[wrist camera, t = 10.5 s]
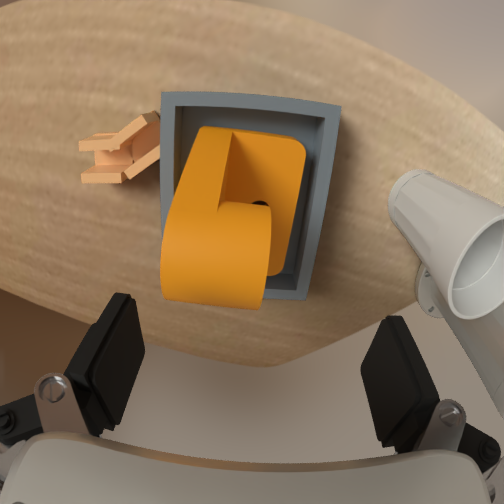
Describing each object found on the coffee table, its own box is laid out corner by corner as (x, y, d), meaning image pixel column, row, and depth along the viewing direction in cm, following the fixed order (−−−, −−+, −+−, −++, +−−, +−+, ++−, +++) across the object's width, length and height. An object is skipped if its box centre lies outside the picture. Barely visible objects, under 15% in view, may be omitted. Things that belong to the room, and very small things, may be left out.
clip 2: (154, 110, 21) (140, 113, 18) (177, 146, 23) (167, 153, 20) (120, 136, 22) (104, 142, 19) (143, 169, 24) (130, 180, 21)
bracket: (278, 259, 27) (294, 368, 16) (195, 250, 26) (165, 356, 16) (301, 136, 21) (352, 180, 11) (205, 124, 21) (161, 156, 10)
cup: (370, 235, 27) (429, 321, 16) (390, 152, 23) (478, 202, 12) (435, 243, 27) (501, 317, 17) (457, 170, 23) (544, 223, 13)
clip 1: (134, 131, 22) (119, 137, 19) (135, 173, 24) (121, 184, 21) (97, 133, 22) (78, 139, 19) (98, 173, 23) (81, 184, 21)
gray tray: (328, 104, 21) (341, 106, 18) (300, 277, 29) (305, 300, 26) (173, 92, 20) (161, 91, 17) (174, 268, 28) (166, 290, 25)
